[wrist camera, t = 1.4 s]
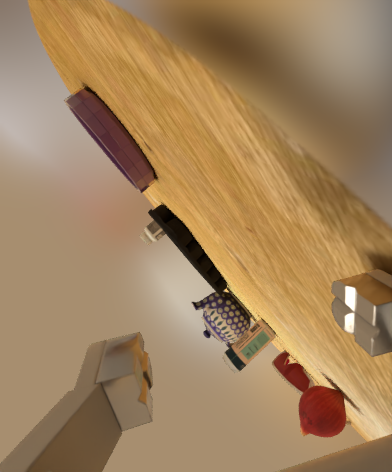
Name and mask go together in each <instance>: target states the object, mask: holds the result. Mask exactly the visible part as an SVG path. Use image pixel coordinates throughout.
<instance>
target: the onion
mask: <svg viewBox="0 0 392 472" xmlns="http://www.w3.org/2000/svg"><path fill="white" fill-rule="evenodd" d="M299 416H300V423H301V424H300V425H301V430H300V432H301V433H302V435H303V436H305V435H307V434H309V433H311V434H314V435H316V436H320V437H332V436H335V435H337V434H339V433H340V432H341V431H342V430H343V428H344V427H345V424H346V412H345V404H344V396H343V394H342V393H341V392H340V391H338V390H335V389H331V388H328V387H324V386H312V387H310V388H308V389H307V390H305V392H304V393H303V394H302V396H301V398H300V402H299Z"/></svg>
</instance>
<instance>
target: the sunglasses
mask: <svg viewBox="0 0 392 472" xmlns="http://www.w3.org/2000/svg"><path fill="white" fill-rule="evenodd" d="M289 356H290V355H289V354H288V353H287V352H285V351H283V352H282V353H280V354H279V355H278V356H277V357H276V358H275V359H274V361H273V362H272V365H273V367H274V369H275V370H276V372H277V373H278V374H279V375H280V376H281V377H282V378H283V379H284V380H285V381H286V382H287V383H288V384H289V385H290V386H291V387H292V388H294V390H296V391H297V392H298V393H299V394H300V393H301V394H300V395H301V396H302V394H303V393H304V392H305V390H307V389H308V388H310V387H312V386H315V384H314V382H313V380H312V379H311V377H310V376H309V375H308V373H307V372H306V371H305V370H304V368H303V367H302V366H301V365H300V364H298V363H292V364H288V363H289V359H288V358H289ZM346 424H348V425H351V422H350V421H347V420H346Z"/></svg>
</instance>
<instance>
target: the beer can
mask: <svg viewBox="0 0 392 472" xmlns="http://www.w3.org/2000/svg"><path fill="white" fill-rule="evenodd" d="M275 337H276V336H275V333H274V331H273V330H272V329H271V328H270V327H269V325H268V324H267V323H266V322H265V321H263V320H259V321H258V322H257V323H256V324H254V326H252V327H251V328H250V329H249V330H248V331H247V332H246V333H245V334H244V335H243V336H242V337H241V338H240V339H238V340H237V341H236V342H235V343H234V344H233V345H232V346H231V347H230V348H229V349H228V350H227V351H226V352H225V353H224V356H223V359H224V361H225V362H226V364H227V365H228V366H229V368H230V369H231V370H232V371H233V372H234V373H236V372H239V371H241V370H242V369H243V368H244V367H245V366H246V365H247V364H248V363H249V362H250V361H251V360H252V359H253V358H254V357H255V356H256V355H258V354H259V353H260V352H261V351H262V350H263V349H264V348H265V347H266V346H267V345H268V344H269V343H270V342H271V341H272V340H273V339H274V338H275Z"/></svg>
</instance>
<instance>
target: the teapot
mask: <svg viewBox="0 0 392 472" xmlns="http://www.w3.org/2000/svg"><path fill="white" fill-rule="evenodd" d="M222 293H223V295H221V296H219V294H218V293H217V292H214V293H212V294H210V295H209V296H207V297H206V298H204V299H203V300H201V301H199V302H192V305H193V307H194V308H195V309H196V310H200V309H203V308H204V313H203V317H202V320H203V321H204V324H205V326H206V330H205V331H204V335H205V337H207V338H210V335H212V336H214V337H215V338H216V339H218V340H219V341H221V342H223V341H226V345H227V346H228V347H229V348H230V347H231V346H232V345H233V344H234V343H235V341H237V340H238V339H240V338H241V337H242V336H243V335H244V334H245V333H246V332H247V331H248V330H249V328H250V318H251V314H250V313H249V311H248V310H247V309H246V308H245V307H244V305H243V304H242V303H241V302H240V301H239V300H238V299H237V298H236V297H235V296H234V295H233V294H232V293H231V292H228V293H227V292H224V291H223V292H222ZM229 342H234V343H229Z"/></svg>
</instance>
